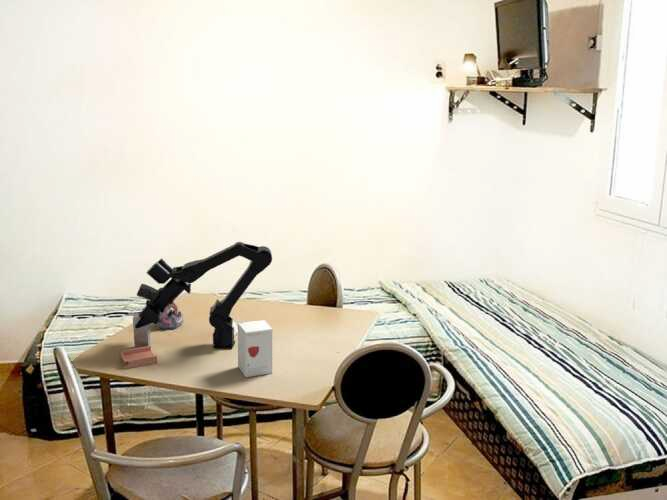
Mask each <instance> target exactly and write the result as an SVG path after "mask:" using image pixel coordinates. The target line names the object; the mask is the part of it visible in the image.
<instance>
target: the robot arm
mask: <svg viewBox="0 0 667 500" xmlns="http://www.w3.org/2000/svg"><path fill="white" fill-rule="evenodd" d="M237 257H242V258H244V259H247V260H249V261H250V262H249V264H248V266H247V268H246V269H245V270H244V272H243V273H242V274H241V276H240V277H239V279H238V280H237V281H236V282H235V284H234V285H233V286H232V287H231V289H230V290H229V292H228V293H227V294H226V296H225V297H224V298H223V299H222V300H219V299H216V300H215V302H214V304H213V305H212V306H210V310H209V317H208V322H209V324H210V326H211V327H213V328H214V329H213V333H212V345H213V346H212V347H213V349H216V350H220V349H222V350H233V348H234V346H235V344H236V340H235V328H234V326H233V323H234V322H233V320H234V319H233V318H232V317H231V316H230V315H231V312H232V310H233V307H234V306H235V305H236V304H237V302H238V301H239V300H240V298H241V297H242V296H243V294H244V293H245V292H246V290H247V289H248V287H249V286H250V285H251V283H252V282H253V281H254V280H255V278H256V277H257V276H258V275H259V274H261V273H262V272H263V271H264V270H266V269H267V268H268V267H269V266H270V265H271V263H272V261H273V256H272V250H271V249H270V248H269V247H268V246H265V245H262V246H257V245H255V244H249V243H245V242H242V241H237V242H235V243H234V244H231V245H230V246H228V247H226V248H224V249H222V250H220V251H218V252H216V253H213V254H211V255H210V256H209V255H208V256H207V257H205V258H202V259H196V260H192V261H189V262H187V263H185V264H183V265H181V266H174V267H171V266H170V265H169V264H168V263H167V262H166V261H165V260H164V259H163V258H160V259H159V260H158V261H156V262H155V263H153V265H152V266H151V267H149V268H148V270H147V271H146V274H147V275H148V276H149V277H150V278H151V279H153V280H154V281H155V283H157V284H159V285H160V284H161V285H163V284H164V286H163V287H159V288H158V289H156V288H155V287H153V286H150V285H148V284H145V283H141V284H140V286H139V288H138V290H137V292H136V296H137V297H139V298H143V299H145V300H146V301H145V306H144V307H143V308H142V310H141V311H140V312H141V313H142V314H143V315H142V317H141V318H140V320H139V321H138V323H137V324H136V325H135V327H136V328H137V329H138V328H140V327H143V326H146V325H148V324H150V325H151V324H153V325H156V324H157V323H158V322H159V321H160V319H161V313H160V312H162V313H163V312H164V311H165V309H166V308H167V307H168V306H169V305H170V304H172V303H173V302H174V301H175V300H176V299H177V298H178V297H179V296H180V295H181V294H182V293H183V292H184V291H185V292H186V293H187V294H190V293H191V290H192V289H191V285H192V284H193V283H194V282H196V281H197V280H199V279H200V278H202V277H203V276H204V275H205V274H207V273H208V272H209V271H211V270H213V269H215V268H217V267H219V266H221V265H223V264H225V263H227V262H229V261H232V260H233V259H236V258H237ZM156 326H157V325H156Z"/></svg>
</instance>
